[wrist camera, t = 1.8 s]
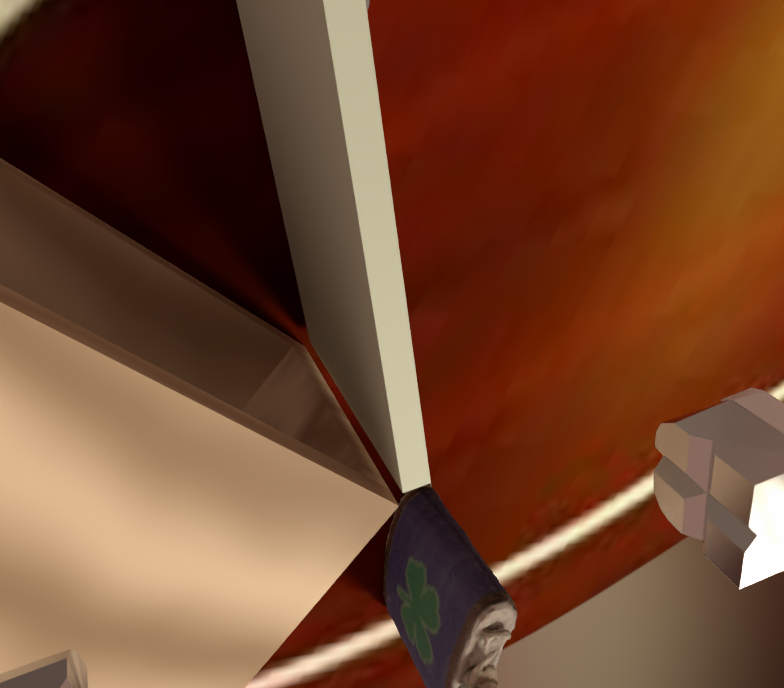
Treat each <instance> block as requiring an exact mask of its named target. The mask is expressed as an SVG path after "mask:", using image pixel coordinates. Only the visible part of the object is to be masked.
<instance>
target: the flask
mask: <svg viewBox="0 0 784 688" xmlns="http://www.w3.org/2000/svg"><path fill="white" fill-rule="evenodd" d="M389 530H390V531H389V534H388V536H387V537H388V538H387V541H386V549H385V563H384V575H383V577H384V581H383V582H384V583H383V589H384V591H383V596H384V600H385V605H386V607H387V610H388V613H389V614H390V616H391V618H392V619H393V621H394V623H395V625H396V627H397V629H398V632H399V634H400V636H401V638H402V640H403V642H404V643H405V645H406V647H407V648H408V650H409V653H410V655H411V657H412V659H413V661H414V664H415V666H416V667H417V669H418V671H419V673H420V675H421V677H422V679H423V682H424V684H425V686H426V688H496V687H497V684H498V682H497V679H498V678H497V677H498V675H497V670H496V666H497V664H498V660H499V656H500V654H501V653H502V648H503V645H504V643H505V642H506V640H507V639H510V638H511V634H510V633H511V631H512V630H513V629H514V627H515V621H516V618H517V610H516V608H515V604H514V601H513V600H512V599H511V596H510V595H509V594H508V593H507V592H506V591H505V588H504V587H503V586H502V585H501V584H500V583H499V581H498V579H497V577H496V576H495V575H494V574H493V572H492V571H491V570H490V568H489V567H488V566H487V564H486V563H485V562H484V561H483V559H482V558H481V556H480V554H479V553H478V552H477V550H476V549H475V548H474V547H473V545H472V543H471V541H470V540H469V538H468V536H467V535H466V533H465V531H464V530H463V529H462V528H461V527H460V526H459V525H458V523H457V522H456V521H455V519H454V518H453V517H452V516H451V514H450V512H449V511H448V510H447V509H446V507H445V506H444V504H443V502H442V501H441V499H440V497H439V495H438V494H437V493H436V491H435V490H434V489H433V488H432V486H431V484H430V485H429V486H421V487H419V488H416V489H413V490H410V491H408V492H407V493H406V494H405V495H404V496H403V497H402V498H401V501H400V503H399V507H398V508H397V509H396V510H395V514H394V518H393V520H392V523H391V526H390V529H389Z"/></svg>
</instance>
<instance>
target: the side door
mask: <svg viewBox="0 0 784 688" xmlns="http://www.w3.org/2000/svg"><path fill="white" fill-rule="evenodd" d="M236 2H237V7H238V11H239V16H240V21H241V25H242V30H243V35H244V39H245V44H246V48H247V53H248V58H249V62H250V67H251V72H252V76H253V81H254V85H255V90H256V95H257V99H258V104H259V109H260V113H261V118H262V123H263V127H264V132H265V136H266V141H267V146H268V150H269V155H270V160H271V164H272V169H273V174H274V178H275V183H276V187H277V192H278V197H279V201H280V206H281V211H282V215H283V220H284V225H285V229H286V234H287V238H288V243H289V248H290V252H291V257H292V262H293V266H294V271H295V276H296V280H297V285H298V289H299V294H300V299H301V303H302V308H303V313H304V317H305V322H306V327H307V331H308V336H309V340H310V342H311V344H312V346H313V347H314V349H315V351H316V352H317V354H318V356H319V357H320V359H321V360H322V362H323V364H324V365H325V367H326V369H327V370H328V372H329V373H330V375H331V377H332V378H333V380H334V382H335V383H336V385H337V387H338V388H339V390H340V391H341V393H342V395H343V396H344V398H345V400H346V401H347V403H348V405H349V406H350V408H351V409H352V411H353V413H354V414H355V416H356V418H357V419H358V421H359V422H360V424H361V426H362V427H363V429H364V431H365V432H366V434H367V436H368V437H369V439H370V440H371V442H372V444H373V445H374V447H375V449H376V450H377V452H378V454H379V455H380V457H381V458H382V460H383V462H384V463H385V465H386V467H387V468H388V470H389V472H390V473H391V475H392V476H393V478H394V480H395V481H396V483H397V485H398V486H399V488H400V489H401V491H402V493H405V492H408V491H410V490H413V489H416V488H419V487H421V486H424V485H427V484H430V483H431V481H430V473H429V466H428V459H427V451H426V444H425V436H424V429H423V422H422V414H421V407H420V400H419V392H418V385H417V377H416V370H415V363H414V355H413V348H412V341H411V333H410V326H409V318H408V311H407V304H406V296H405V289H404V282H403V274H402V267H401V259H400V252H399V245H398V237H397V230H396V223H395V215H394V208H393V200H392V193H391V186H390V178H389V171H388V164H387V156H386V149H385V141H384V134H383V127H382V119H381V112H380V105H379V97H378V90H377V82H376V75H375V68H374V60H373V53H372V46H371V38H370V31H369V23H368V16H367V10H368V7H369V0H236Z"/></svg>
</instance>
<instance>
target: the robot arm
mask: <svg viewBox="0 0 784 688" xmlns="http://www.w3.org/2000/svg"><path fill="white" fill-rule="evenodd" d="M655 447H656V448H657V449H658V450H659V451H660V452H661V453H662V454H663V455H664V456H663V457H662V459H661V461H660V462H659V464H658V466H657V467H656V469H655V471H654V492H655V495H656V498H657V500H658V503H659V506H660V508H661V510H662V511H663V513H664V514H665V516H666V517H667V519H668V520H669V522H670V523H671V524H672V525H673V526H675V527H676V528H677V529H678V530H679V531H680V532H681V533H682V534H684V535H687V536H691V537H694V538H697V539H700V540H702V542H703V549H704V555H705V556H706V557H707V558H708V559H709V560H710V561H711V562H712V563H713V564H714V565H715V566H716V567H717V568H718V569H719V570H721V571H722V572H723V573H724V574H725V575H726V576H727V577H728V578H729V579H730V580H731V581H732V582H733V583H734V584H735V585H737V587H739V588H740V589H741V588H743V587H745V586H748V585H750V584H753V583H755V582H757V581H760V580H762V579H764V578H767V577H769V576H772V575H774V574H776V573H779V572H781V571H783V570H784V403H783V402H781V401H779V400H778V399H776V398H775V397H773V396H772V395H770V394H768V393H767V392H765V391H763V390H760V389H755V388H749V389H747V390H744V391H742V392H739V393H737V394H734V395H732V396H729V397H727V398H724V399H722V400H721V401H718V402H714V403H712V404H709V405H706V406H704V407H701V408H699V409H696V410H694V411H691V412H689V413H686V414H684V415H681V416H678V417H676V418H673V419H671V420H668V421H666V422H663V423H661V425H660V427H659V428H658V430H657V432H656V442H655ZM0 688H88V676H87V667H86V665H85V663H84V662H83V660H82V658H81V657H80V655H79V653H78V652H77V650H75V649H69V650H66V651H63V652H60V653H57V654H54V655H52V656H49V657H46V658H43V659H40V660H38V661H35V662H32V663H29V664H26V665H24V666H21V667H18V668H15V669H12V670H9V671H7V672H4V673H1V674H0Z"/></svg>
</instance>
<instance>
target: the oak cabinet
mask: <svg viewBox="0 0 784 688" xmlns="http://www.w3.org/2000/svg"><path fill="white" fill-rule="evenodd" d="M398 507H399V505H398V503H397V502H396V500H395V498H394V496H393V495H392V493H391V491H390V490H389V488H388V486H387V485H386V483H385V481H384V480H383V478H382V476H381V475H380V473H379V471H378V469H377V468H376V466H375V464H374V463H373V461H372V459H371V458H370V456H369V454H368V453H367V451H366V449H365V447H364V446H363V444H362V442H361V441H360V439H359V437H358V436H357V434H356V432H355V431H354V429H353V427H352V425H351V424H350V422H349V420H348V419H347V417H346V415H345V414H344V412H343V410H342V409H341V407H340V405H339V403H338V402H337V400H336V398H335V397H334V395H333V393H332V392H331V390H330V388H329V387H328V385H327V383H326V381H325V380H324V378H323V376H322V375H321V373H320V371H319V370H318V368H317V366H316V365H315V363H314V361H313V360H312V358H311V356H310V354H309V353H308V351H307V349H306V348H305V346H304V345H302V344H300V343H299V342H297V341H295V340H294V339H292V338H291V337H289V336H287V335H286V334H284V333H283V332H281V331H279V330H278V329H276V328H274V327H273V326H271V325H270V324H268V323H266V322H265V321H263V320H262V319H260V318H258V317H257V316H255V315H253V314H252V313H250V312H249V311H247V310H245V309H244V308H242V307H241V306H239V305H237V304H236V303H234V302H232V301H231V300H229V299H228V298H226V297H224V296H223V295H221V294H220V293H218V292H216V291H215V290H213V289H211V288H210V287H208V286H207V285H205V284H203V283H202V282H200V281H198V280H197V279H195V278H194V277H192V276H190V275H189V274H187V273H186V272H184V271H182V270H181V269H179V268H177V267H176V266H174V265H173V264H171V263H169V262H168V261H166V260H165V259H163V258H161V257H160V256H158V255H156V254H155V253H153V252H152V251H150V250H148V249H147V248H145V247H144V246H142V245H140V244H139V243H137V242H135V241H134V240H132V239H131V238H129V237H127V236H126V235H124V234H123V233H121V232H119V231H118V230H116V229H114V228H113V227H111V226H110V225H108V224H106V223H105V222H103V221H101V220H100V219H98V218H97V217H95V216H93V215H92V214H90V213H89V212H87V211H85V210H84V209H82V208H80V207H79V206H77V205H76V204H74V203H72V202H71V201H69V200H68V199H66V198H64V197H63V196H61V195H59V194H58V193H56V192H55V191H53V190H51V189H50V188H48V187H47V186H45V185H43V184H42V183H40V182H38V181H37V180H35V179H34V178H32V177H30V176H29V175H27V174H26V173H24V172H22V171H21V170H19V169H17V168H16V167H14V166H13V165H11V164H9V163H8V162H6V161H4V160H3V159H1V158H0V674H1V673H4V672H7V671H9V670H12V669H15V668H18V667H21V666H24V665H26V664H29V663H32V662H35V661H38V660H40V659H43V658H46V657H49V656H52V655H54V654H57V653H60V652H63V651H66V650H69V649H75V650H77V652H78V653H79V655H80V657H81V658H82V660H83V662H84V663H85V665H86V667H87V676H88V688H245V687H246V685H247V684H248V683H249V682H250V681H251V680H252V678H253V677H254V676H255V675H256V674H257V673H258V671H259V670H260V669H261V668H262V667H263V665H264V664H265V663H266V662H267V661H268V660H269V658H270V657H271V656H272V655H273V654H274V653H275V651H276V650H277V649H278V648H279V647H280V645H281V644H282V643H283V642H284V641H285V640H286V638H287V637H288V636H289V635H290V634H291V632H292V631H293V630H294V629H295V628H296V627H297V625H298V624H299V623H300V622H301V621H302V620H303V618H304V617H305V616H306V615H307V614H308V612H309V611H310V610H311V609H312V608H313V607H314V605H315V604H316V603H317V602H318V601H319V600H320V598H321V597H322V596H323V595H324V594H325V592H326V591H327V590H328V589H329V588H330V587H331V585H332V584H333V583H334V582H335V581H336V580H337V578H338V577H339V576H340V575H341V574H342V572H343V571H344V570H345V569H346V568H347V567H348V565H349V564H350V563H351V562H352V561H353V559H354V558H355V557H356V556H357V555H358V554H359V552H360V551H361V550H362V549H363V548H364V547H365V545H366V544H367V543H368V542H369V541H370V539H371V538H372V537H373V536H374V535H375V534H376V532H377V531H378V530H379V529H380V528H381V527H382V525H383V524H384V523H385V522H386V521H387V519H388V518H389V517H390V516H391V515H392V514H393V512H394V511H395V510H396V509H397V508H398Z"/></svg>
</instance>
